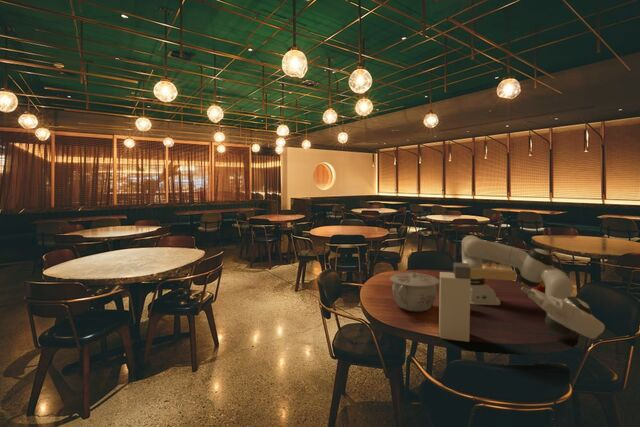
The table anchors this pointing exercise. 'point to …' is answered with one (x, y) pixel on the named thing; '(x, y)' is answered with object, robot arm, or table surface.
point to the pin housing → (455, 303)
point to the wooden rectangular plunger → (492, 274)
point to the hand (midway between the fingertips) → (525, 291)
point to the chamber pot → (414, 291)
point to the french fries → (541, 287)
